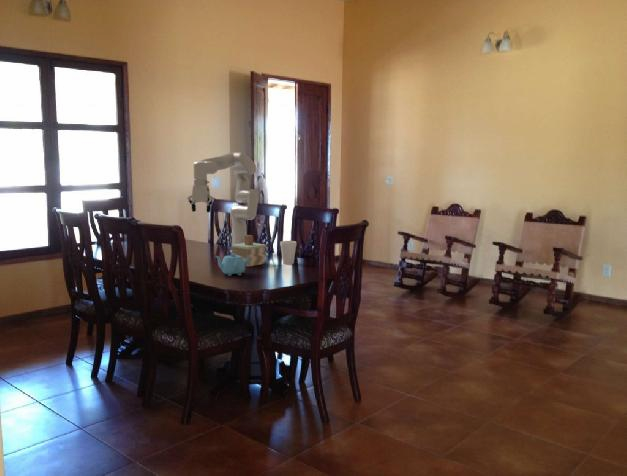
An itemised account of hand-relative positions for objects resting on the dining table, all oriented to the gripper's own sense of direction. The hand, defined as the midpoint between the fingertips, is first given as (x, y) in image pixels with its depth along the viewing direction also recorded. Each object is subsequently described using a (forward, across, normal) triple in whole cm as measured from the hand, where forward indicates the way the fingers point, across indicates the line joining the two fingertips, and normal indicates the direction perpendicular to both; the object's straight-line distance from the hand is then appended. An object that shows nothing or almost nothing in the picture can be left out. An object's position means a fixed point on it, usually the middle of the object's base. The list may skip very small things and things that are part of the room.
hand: (201, 211), depth 322 cm
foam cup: (+30, -51, -12) cm, 60 cm away
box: (+30, -29, -4) cm, 42 cm away
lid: (+21, -29, -4) cm, 36 cm away
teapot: (+30, -34, +29) cm, 54 cm away
